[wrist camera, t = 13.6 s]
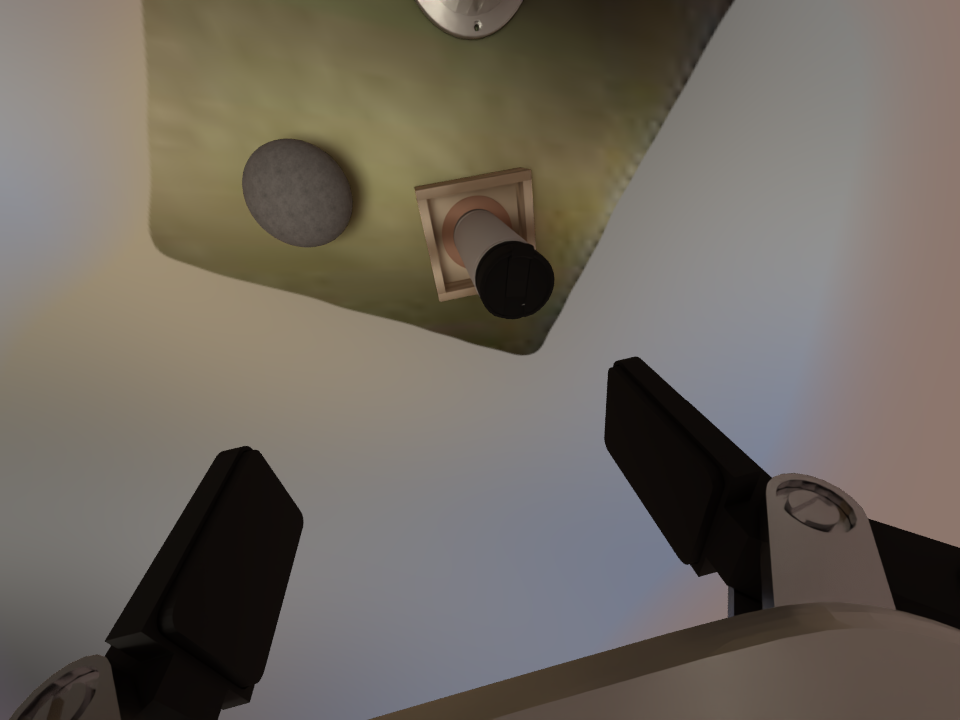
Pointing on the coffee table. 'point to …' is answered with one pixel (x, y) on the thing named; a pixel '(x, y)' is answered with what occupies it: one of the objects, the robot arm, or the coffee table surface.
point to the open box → (453, 198)
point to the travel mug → (502, 265)
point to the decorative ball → (297, 193)
